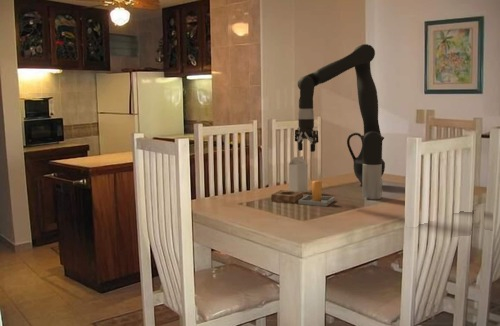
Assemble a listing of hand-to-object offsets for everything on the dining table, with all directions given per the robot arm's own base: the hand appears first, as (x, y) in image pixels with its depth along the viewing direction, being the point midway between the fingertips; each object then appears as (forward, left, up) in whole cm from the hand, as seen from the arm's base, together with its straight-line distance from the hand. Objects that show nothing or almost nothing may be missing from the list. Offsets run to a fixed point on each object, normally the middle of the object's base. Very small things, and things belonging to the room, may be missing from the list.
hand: (306, 151), depth 248 cm
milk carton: (+10, -15, -24) cm, 30 cm away
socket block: (+7, +8, -24) cm, 26 cm away
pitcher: (-19, -45, -24) cm, 55 cm away
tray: (-8, +8, -24) cm, 27 cm away
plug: (-8, +8, -23) cm, 26 cm away
